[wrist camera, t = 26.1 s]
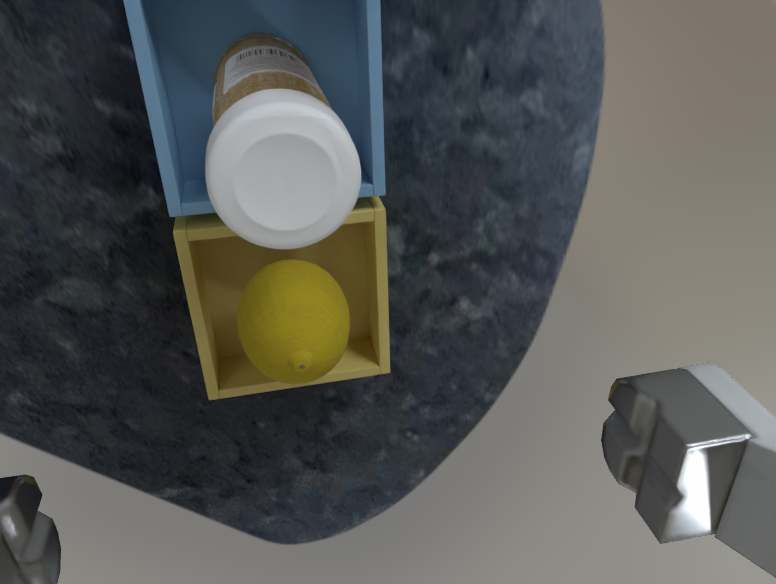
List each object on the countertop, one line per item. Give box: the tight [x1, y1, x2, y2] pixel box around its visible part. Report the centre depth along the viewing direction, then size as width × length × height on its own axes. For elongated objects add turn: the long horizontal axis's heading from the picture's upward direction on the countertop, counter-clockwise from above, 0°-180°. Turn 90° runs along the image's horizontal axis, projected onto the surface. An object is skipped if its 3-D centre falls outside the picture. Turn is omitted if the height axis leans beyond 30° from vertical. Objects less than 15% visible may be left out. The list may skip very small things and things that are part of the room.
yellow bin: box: [173, 196, 390, 400], centre depth 34 cm, size 10×10×4 cm
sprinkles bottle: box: [205, 33, 361, 249], centre depth 24 cm, size 5×5×13 cm
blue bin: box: [123, 0, 385, 217], centre depth 29 cm, size 10×10×4 cm
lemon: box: [237, 259, 350, 384], centre depth 32 cm, size 6×6×8 cm
